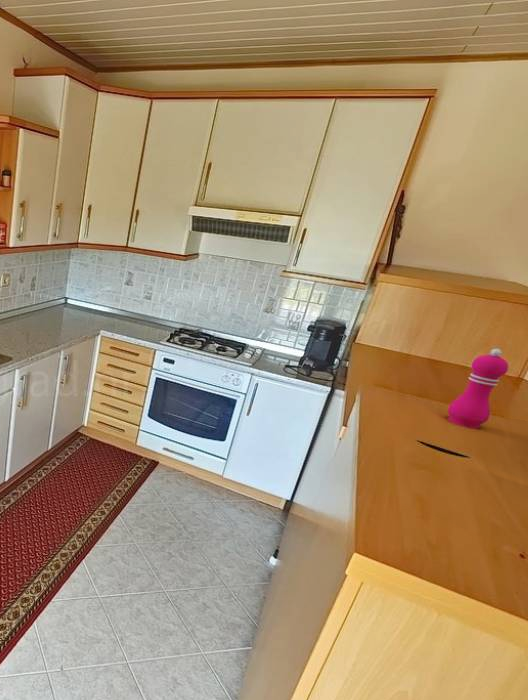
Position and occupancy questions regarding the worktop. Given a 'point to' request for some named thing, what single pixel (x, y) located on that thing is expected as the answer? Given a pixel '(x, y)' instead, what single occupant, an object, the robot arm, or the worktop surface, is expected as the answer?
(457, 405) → the pepper mill
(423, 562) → the worktop surface
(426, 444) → the plate
